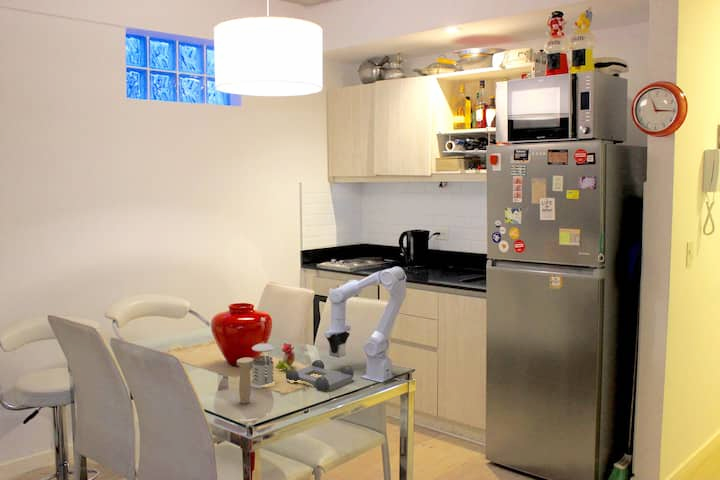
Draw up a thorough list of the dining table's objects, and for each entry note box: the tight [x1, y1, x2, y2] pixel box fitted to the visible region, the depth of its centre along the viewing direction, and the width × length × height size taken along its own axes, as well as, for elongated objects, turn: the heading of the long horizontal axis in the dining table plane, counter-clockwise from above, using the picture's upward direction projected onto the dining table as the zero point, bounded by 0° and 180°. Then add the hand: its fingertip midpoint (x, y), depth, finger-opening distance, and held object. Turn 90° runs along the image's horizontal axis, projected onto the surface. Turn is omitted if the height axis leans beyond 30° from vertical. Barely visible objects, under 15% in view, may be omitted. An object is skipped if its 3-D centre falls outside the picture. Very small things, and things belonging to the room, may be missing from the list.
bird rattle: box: [275, 342, 296, 371], centre depth 281 cm, size 6×11×9 cm
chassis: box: [285, 359, 354, 392], centre depth 267 cm, size 20×17×5 cm
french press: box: [251, 317, 275, 389], centre depth 261 cm, size 10×12×25 cm
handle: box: [236, 356, 254, 405], centre depth 242 cm, size 5×6×15 cm
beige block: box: [328, 342, 347, 359], centre depth 281 cm, size 5×4×5 cm
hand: (337, 351), depth 281 cm, fingers closed on beige block, 4 cm apart
